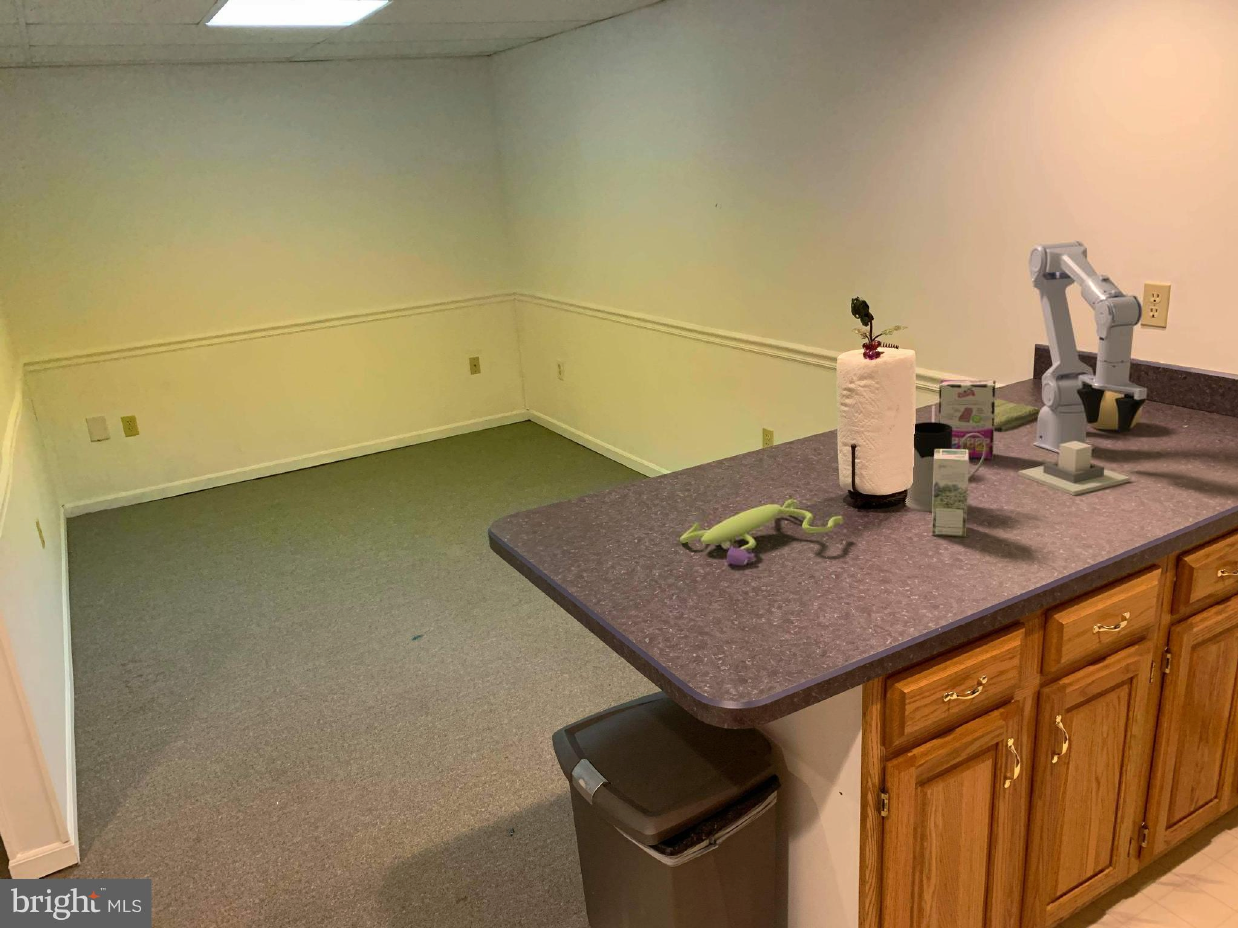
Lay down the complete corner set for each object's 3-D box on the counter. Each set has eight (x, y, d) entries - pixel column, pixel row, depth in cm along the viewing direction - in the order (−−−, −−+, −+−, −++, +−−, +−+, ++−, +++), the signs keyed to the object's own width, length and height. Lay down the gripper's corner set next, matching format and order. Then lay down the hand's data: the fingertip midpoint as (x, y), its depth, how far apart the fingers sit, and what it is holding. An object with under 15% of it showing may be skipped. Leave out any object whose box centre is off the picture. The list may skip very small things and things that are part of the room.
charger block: (1057, 473, 185) (1059, 444, 183) (1073, 469, 187) (1075, 440, 185) (1074, 478, 182) (1076, 449, 180) (1089, 474, 183) (1091, 445, 181)
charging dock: (1018, 475, 188) (1019, 462, 188) (1072, 462, 193) (1073, 450, 192) (1073, 495, 176) (1074, 482, 175) (1129, 481, 180) (1130, 468, 180)
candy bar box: (993, 453, 202) (996, 379, 197) (992, 460, 198) (996, 385, 193) (938, 450, 207) (941, 378, 201) (937, 457, 202) (939, 384, 197)
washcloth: (951, 424, 226) (952, 411, 225) (996, 409, 235) (997, 396, 234) (999, 434, 215) (1000, 421, 214) (1045, 418, 225) (1045, 405, 224)
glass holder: (903, 495, 183) (904, 421, 178) (980, 495, 180) (983, 420, 175) (906, 511, 175) (908, 434, 170) (987, 511, 172) (991, 433, 167)
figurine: (854, 547, 162) (854, 517, 161) (712, 577, 155) (710, 546, 154) (802, 513, 179) (802, 485, 178) (672, 538, 172) (670, 510, 170)
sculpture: (1093, 417, 221) (1096, 373, 217) (1147, 425, 212) (1152, 378, 209) (1072, 429, 214) (1075, 383, 210) (1128, 437, 205) (1132, 390, 202)
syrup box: (966, 525, 167) (969, 447, 162) (966, 538, 161) (969, 458, 157) (932, 523, 168) (934, 447, 164) (931, 536, 163) (933, 457, 159)
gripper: (1068, 356, 186) (1063, 421, 190) (1129, 369, 173) (1122, 439, 177) (1095, 351, 188) (1090, 416, 192) (1158, 363, 175) (1150, 433, 179)
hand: (1107, 427), depth 185 cm, fingers open, 7 cm apart
